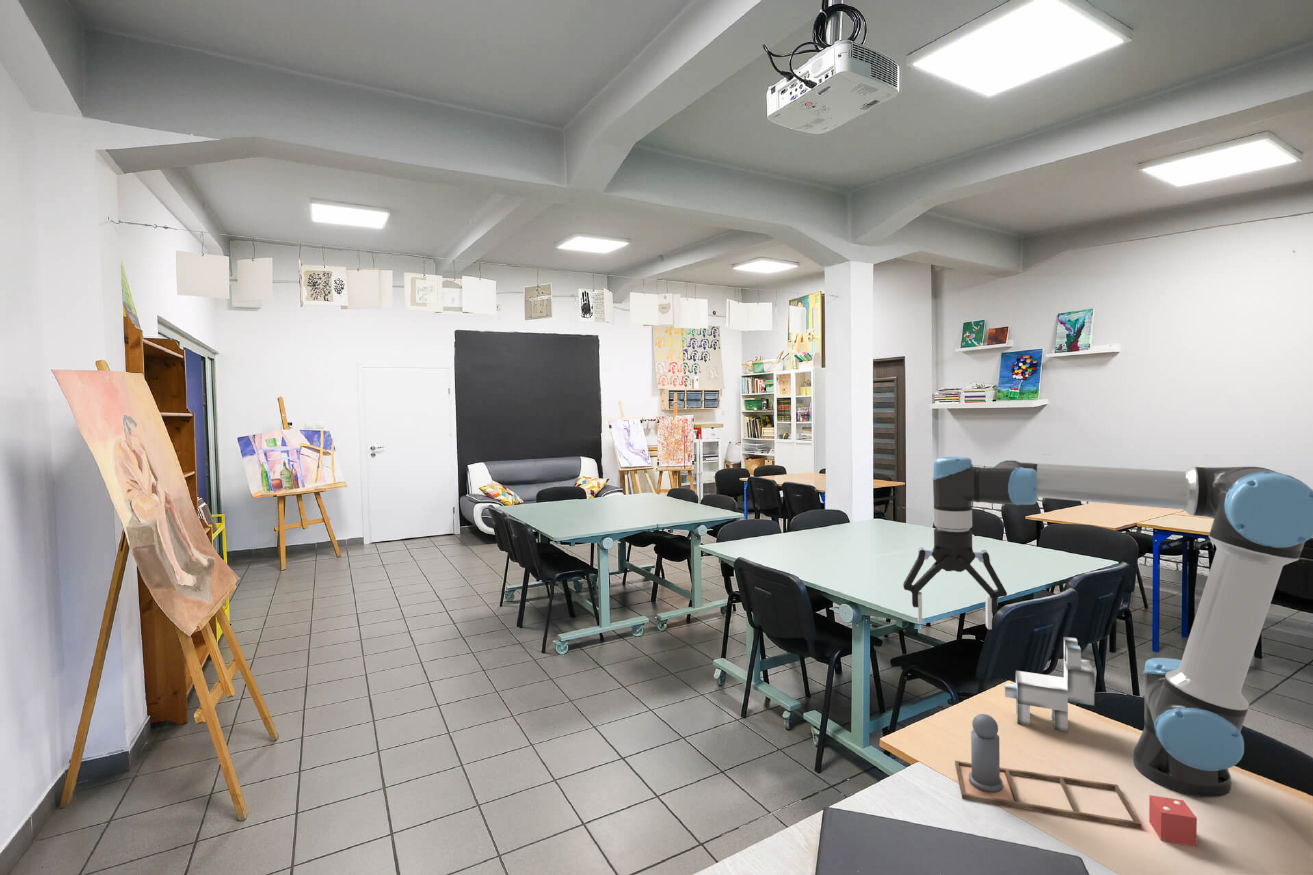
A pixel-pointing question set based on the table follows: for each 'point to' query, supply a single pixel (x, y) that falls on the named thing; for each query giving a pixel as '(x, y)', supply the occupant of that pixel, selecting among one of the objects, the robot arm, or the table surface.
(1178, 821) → the red die
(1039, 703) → the toy llama
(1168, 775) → the robot arm
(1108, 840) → the table surface
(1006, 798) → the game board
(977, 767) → the pawn
